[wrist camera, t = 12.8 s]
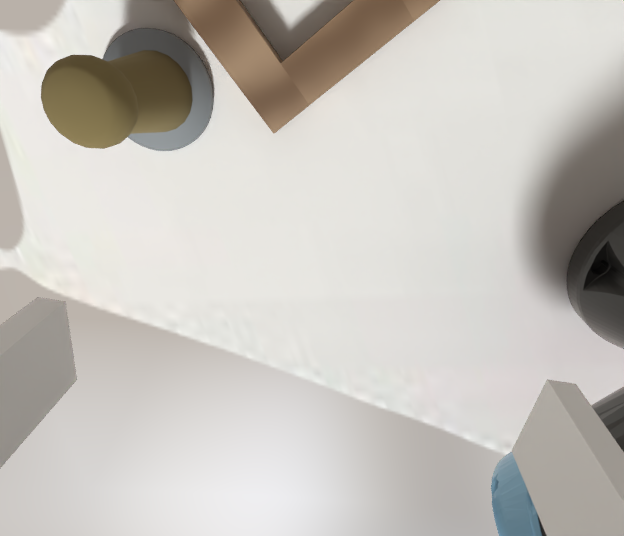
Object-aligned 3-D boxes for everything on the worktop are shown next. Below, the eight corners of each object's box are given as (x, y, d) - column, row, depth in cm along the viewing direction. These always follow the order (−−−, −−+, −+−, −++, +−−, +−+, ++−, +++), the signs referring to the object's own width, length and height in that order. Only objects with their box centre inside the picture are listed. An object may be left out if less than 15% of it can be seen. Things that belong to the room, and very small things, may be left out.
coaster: (236, 104, 34) (234, 105, 33) (160, 170, 37) (157, 172, 36) (156, 0, 31) (152, -1, 30) (80, 80, 34) (76, 80, 33)
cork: (103, 91, 34) (1, 103, 24) (147, 31, 31) (55, 17, 22) (162, 147, 35) (90, 181, 25) (208, 94, 33) (148, 108, 23)
